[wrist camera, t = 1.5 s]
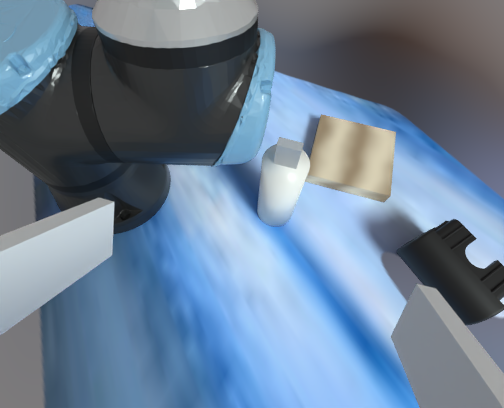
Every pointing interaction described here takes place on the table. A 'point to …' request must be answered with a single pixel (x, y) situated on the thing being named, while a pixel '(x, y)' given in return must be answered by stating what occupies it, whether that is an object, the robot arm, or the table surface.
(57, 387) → the table surface
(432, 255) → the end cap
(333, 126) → the oak board
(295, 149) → the white bottle
